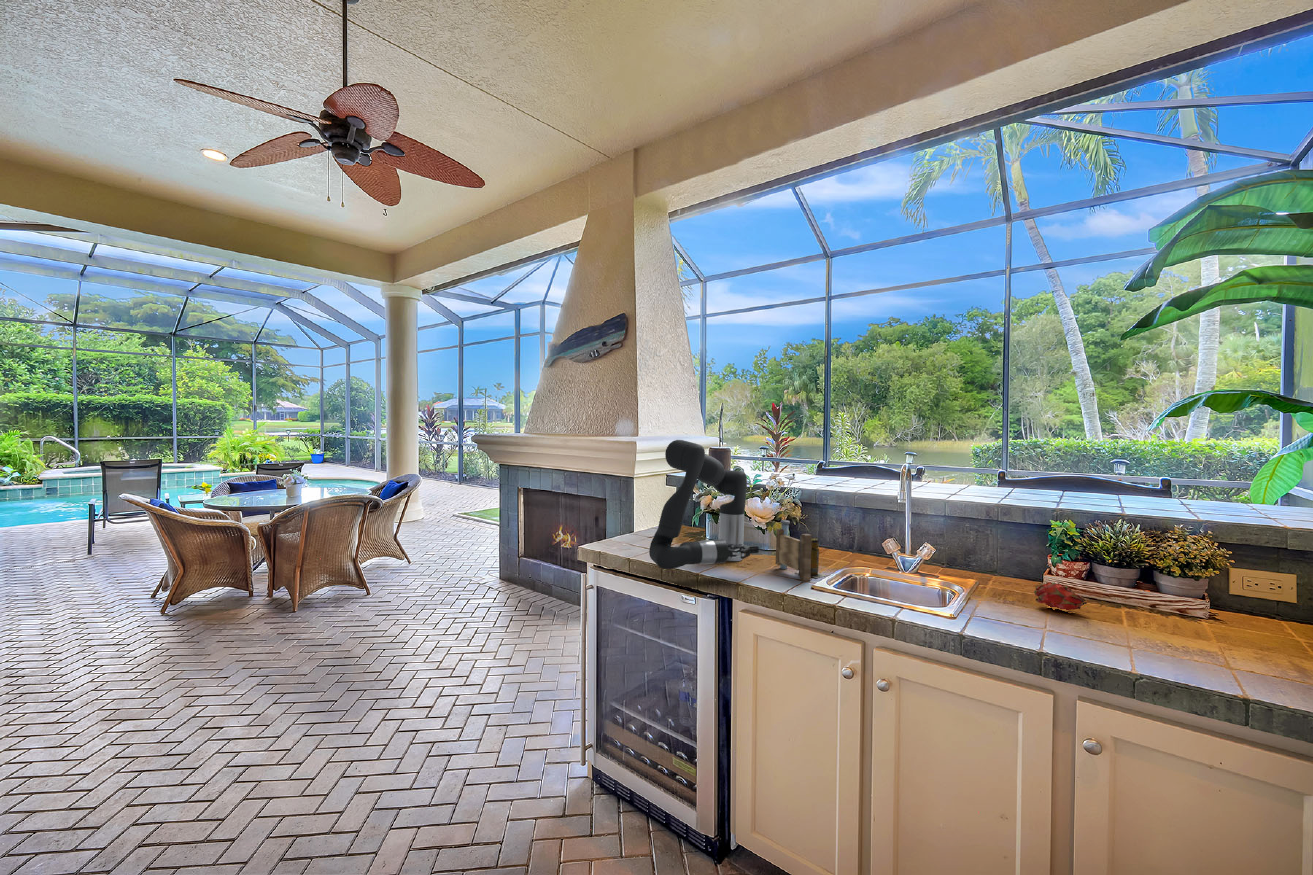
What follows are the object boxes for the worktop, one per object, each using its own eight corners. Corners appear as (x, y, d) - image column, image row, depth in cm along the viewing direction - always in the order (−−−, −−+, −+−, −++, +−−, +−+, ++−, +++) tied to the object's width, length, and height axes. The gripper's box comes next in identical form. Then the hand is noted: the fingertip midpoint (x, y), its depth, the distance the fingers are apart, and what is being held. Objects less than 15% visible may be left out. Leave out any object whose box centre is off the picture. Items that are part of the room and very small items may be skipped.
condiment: (806, 570, 185) (807, 536, 185) (827, 575, 178) (829, 540, 178) (794, 573, 180) (795, 538, 180) (815, 578, 173) (816, 542, 173)
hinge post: (799, 579, 172) (801, 533, 171) (805, 579, 172) (807, 533, 172) (804, 581, 169) (805, 535, 169) (810, 581, 170) (811, 535, 170)
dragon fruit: (1029, 609, 153) (1081, 625, 146) (1031, 598, 147) (1086, 615, 140) (1035, 583, 157) (1086, 598, 149) (1038, 572, 151) (1091, 586, 143)
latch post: (777, 567, 187) (778, 520, 186) (784, 566, 188) (786, 520, 188) (782, 569, 184) (784, 521, 183) (790, 569, 185) (791, 521, 185)
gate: (775, 565, 186) (776, 528, 185) (779, 565, 186) (780, 528, 186) (800, 576, 172) (801, 536, 172) (804, 575, 172) (805, 536, 172)
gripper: (720, 544, 162) (768, 542, 168) (702, 536, 175) (747, 533, 181) (719, 568, 162) (767, 565, 168) (701, 558, 175) (747, 555, 181)
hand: (757, 549), depth 175 cm, fingers closed
